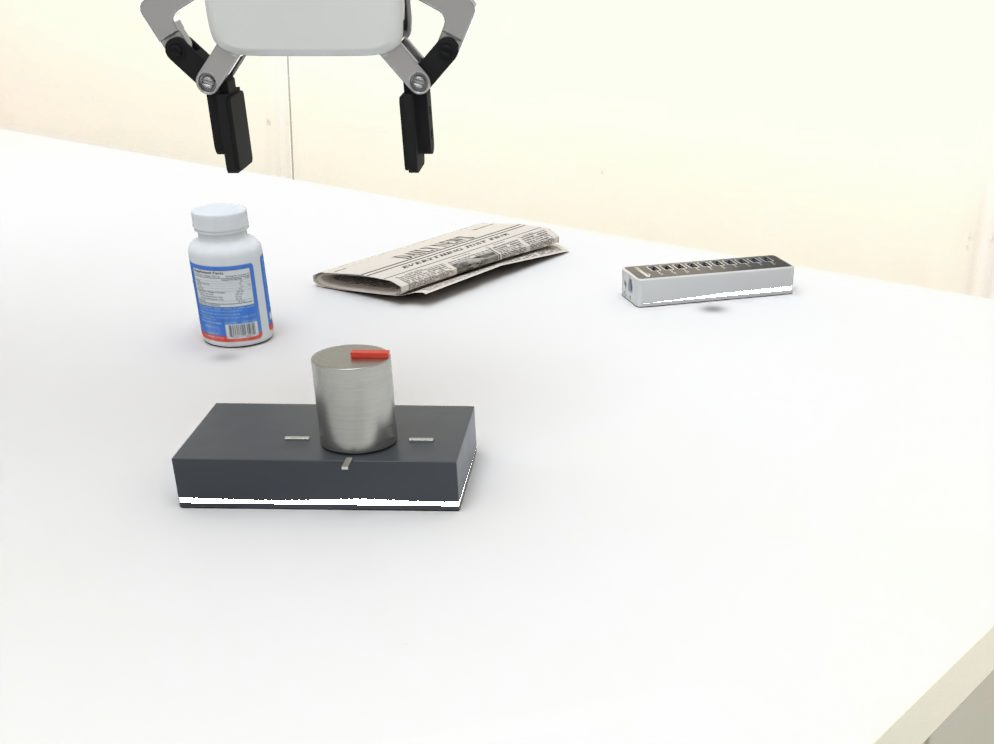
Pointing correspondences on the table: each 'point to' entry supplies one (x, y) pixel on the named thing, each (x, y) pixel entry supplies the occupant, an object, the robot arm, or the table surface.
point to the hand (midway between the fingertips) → (328, 168)
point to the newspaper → (442, 259)
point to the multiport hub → (704, 279)
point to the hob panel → (323, 458)
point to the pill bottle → (229, 277)
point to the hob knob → (354, 398)
